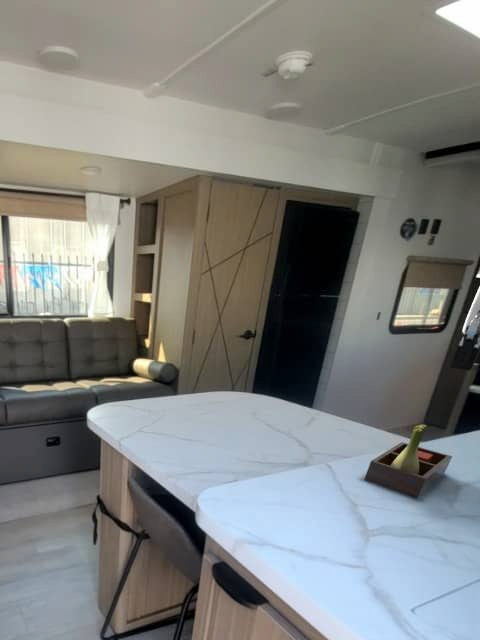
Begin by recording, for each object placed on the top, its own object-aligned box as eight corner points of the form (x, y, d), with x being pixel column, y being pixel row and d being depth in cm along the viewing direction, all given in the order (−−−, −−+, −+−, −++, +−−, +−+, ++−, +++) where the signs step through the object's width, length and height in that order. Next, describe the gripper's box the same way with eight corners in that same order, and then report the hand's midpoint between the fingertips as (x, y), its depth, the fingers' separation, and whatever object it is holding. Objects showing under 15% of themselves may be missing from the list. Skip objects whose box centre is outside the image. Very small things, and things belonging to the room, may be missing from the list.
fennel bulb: (399, 473, 88) (420, 421, 82) (421, 484, 83) (445, 429, 78) (379, 476, 86) (399, 423, 81) (400, 487, 82) (423, 431, 77)
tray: (394, 459, 96) (401, 441, 94) (444, 474, 90) (452, 456, 88) (363, 480, 86) (370, 460, 84) (416, 499, 79) (425, 478, 77)
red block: (405, 464, 93) (411, 448, 91) (425, 471, 90) (433, 454, 88) (398, 469, 90) (405, 452, 89) (420, 475, 87) (427, 459, 86)
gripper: (527, 268, 65) (481, 375, 72) (542, 270, 74) (500, 364, 82) (468, 268, 70) (430, 367, 77) (489, 269, 80) (454, 357, 87)
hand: (466, 365), depth 80 cm, fingers open, 9 cm apart
